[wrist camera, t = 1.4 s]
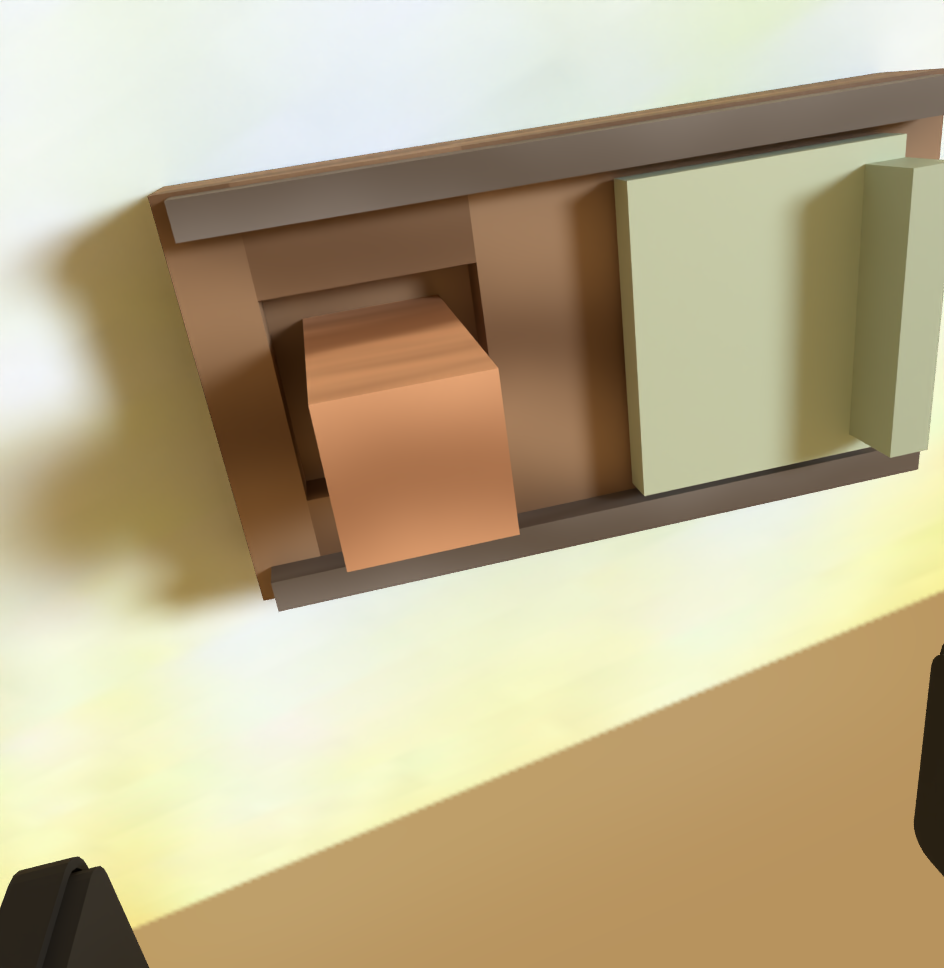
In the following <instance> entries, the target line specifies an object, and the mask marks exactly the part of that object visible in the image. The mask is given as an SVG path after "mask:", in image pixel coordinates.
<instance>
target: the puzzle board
mask: <svg viewBox="0 0 944 968" xmlns="http://www.w3.org/2000/svg"><path fill="white" fill-rule="evenodd" d="M943 115H944V68H942V69H928V70H913V71H898V72H883V73H875V74H869V75H863V76H856V77H850V78H844V79H838V80H831V81H825V82H819V83H812V84H806V85H800V86H794V87H787V88H781V89H775V90H768V91H762V92H756V93H750V94H743V95H737V96H731V97H724V98H718V99H712V100H706V101H699V102H693V103H687V104H680V105H674V106H668V107H662V108H655V109H649V110H643V111H636V112H630V113H624V114H618V115H611V116H605V117H599V118H592V119H586V120H580V121H574V122H567V123H561V124H555V125H548V126H542V127H536V128H530V129H523V130H517V131H511V132H504V133H498V134H492V135H486V136H479V137H473V138H467V139H460V140H454V141H448V142H442V143H435V144H429V145H423V146H416V147H410V148H404V149H398V150H391V151H385V152H379V153H372V154H366V155H360V156H354V157H347V158H341V159H335V160H328V161H322V162H316V163H310V164H303V165H297V166H291V167H284V168H278V169H272V170H266V171H259V172H253V173H247V174H240V175H234V176H228V177H222V178H215V179H209V180H203V181H196V182H190V183H184V184H178V185H171V186H165V187H162V188H161V189H159V190H157V191H156V192H154V193H152V194H151V195H149V196H148V199H149V203H150V206H151V210H152V213H153V216H154V220H155V223H156V227H157V230H158V234H159V237H160V241H161V244H162V248H163V251H164V255H165V258H166V262H167V265H168V269H169V272H170V276H171V279H172V283H173V286H174V290H175V293H176V297H177V300H178V304H179V307H180V311H181V314H182V318H183V321H184V325H185V328H186V332H187V335H188V338H189V342H190V345H191V349H192V352H193V356H194V359H195V363H196V366H197V370H198V373H199V377H200V380H201V384H202V387H203V391H204V394H205V398H206V401H207V405H208V408H209V412H210V415H211V419H212V422H213V426H214V429H215V433H216V436H217V440H218V443H219V447H220V450H221V454H222V457H223V460H224V464H225V467H226V471H227V474H228V478H229V481H230V485H231V488H232V492H233V495H234V499H235V502H236V506H237V509H238V513H239V516H240V520H241V523H242V527H243V530H244V534H245V537H246V541H247V544H248V548H249V551H250V555H251V558H252V562H253V565H254V569H255V572H256V576H257V579H258V582H259V586H260V589H261V593H262V596H263V600H269V599H274V598H275V600H276V603H277V607H278V611H284V610H288V609H293V608H297V607H302V606H306V605H311V604H315V603H320V602H324V601H329V600H333V599H338V598H342V597H347V596H351V595H356V594H360V593H364V592H369V591H373V590H378V589H382V588H387V587H391V586H396V585H400V584H405V583H409V582H414V581H418V580H423V579H427V578H432V577H436V576H441V575H445V574H450V573H454V572H459V571H463V570H468V569H472V568H477V567H481V566H486V565H490V564H495V563H499V562H504V561H508V560H513V559H517V558H522V557H526V556H531V555H535V554H540V553H544V552H549V551H553V550H558V549H562V548H567V547H571V546H576V545H580V544H585V543H589V542H594V541H598V540H603V539H607V538H612V537H616V536H621V535H625V534H630V533H634V532H639V531H643V530H648V529H652V528H657V527H661V526H665V525H670V524H674V523H679V522H683V521H688V520H692V519H697V518H701V517H706V516H710V515H715V514H719V513H724V512H728V511H733V510H737V509H742V508H746V507H751V506H755V505H760V504H764V503H769V502H773V501H778V500H782V499H787V498H791V497H796V496H800V495H805V494H809V493H814V492H818V491H823V490H827V489H832V488H836V487H841V486H845V485H850V484H854V483H859V482H863V481H868V480H872V479H877V478H881V477H886V476H890V475H895V474H899V473H904V472H908V471H913V470H917V469H918V464H919V454H920V451H919V452H914V453H910V454H905V455H901V456H896V457H892V458H890V457H888V456H886V455H884V454H883V453H881V452H879V451H877V450H876V449H874V448H872V447H868V448H863V449H859V450H854V451H850V452H845V453H840V454H836V455H831V456H827V457H822V458H817V459H813V460H808V461H804V462H799V463H794V464H790V465H785V466H781V467H776V468H771V469H767V470H762V471H758V472H753V473H748V474H744V475H739V476H735V477H730V478H725V479H721V480H716V481H712V482H707V483H702V484H698V485H693V486H689V487H684V488H679V489H675V490H670V491H666V492H661V493H656V494H652V495H647V496H644V495H643V494H642V493H641V492H640V491H639V490H638V489H637V488H636V487H635V486H634V484H633V483H632V469H631V452H630V436H629V420H628V403H627V387H626V371H625V354H624V338H623V322H622V306H621V289H620V273H619V257H618V240H617V224H616V208H615V191H614V178H619V177H625V176H631V175H637V174H643V173H649V172H655V171H661V170H667V169H673V168H679V167H684V166H690V165H696V164H702V163H708V162H714V161H720V160H726V159H732V158H738V157H744V156H750V155H756V154H762V153H767V152H773V151H779V150H785V149H791V148H797V147H803V146H809V145H815V144H821V143H827V142H833V141H839V140H845V139H851V138H856V137H862V136H868V135H874V134H880V133H901V134H907V140H906V153H905V157H910V158H924V159H938V160H939V158H940V147H941V137H942V126H943ZM437 294H438V295H439V296H440V297H441V299H442V300H443V301H444V302H445V304H446V305H447V306H448V307H449V308H450V310H451V311H452V312H453V313H454V315H455V316H456V317H457V318H458V319H459V321H460V322H461V323H462V324H463V326H464V327H465V328H466V329H467V330H468V332H469V333H470V334H471V335H472V337H473V338H474V339H475V340H476V341H477V343H478V344H479V345H480V346H481V347H482V349H483V350H484V351H485V352H486V354H487V355H488V356H489V357H490V358H491V360H492V361H493V362H494V363H495V365H496V366H497V367H498V369H499V376H500V384H501V392H502V400H503V408H504V415H505V423H506V431H507V439H508V447H509V454H510V462H511V470H512V478H513V486H514V493H515V501H516V509H517V517H518V525H519V533H520V535H515V536H511V537H506V538H501V539H497V540H492V541H488V542H483V543H479V544H474V545H470V546H465V547H460V548H456V549H451V550H447V551H442V552H438V553H433V554H428V555H424V556H419V557H415V558H410V559H406V560H401V561H397V562H392V563H387V564H383V565H378V566H374V567H369V568H365V569H360V570H355V571H351V572H347V569H346V565H345V561H344V556H343V552H342V548H341V543H340V539H339V535H338V530H337V526H336V522H335V518H334V513H333V509H332V505H331V500H330V496H329V492H328V488H327V483H326V479H325V475H324V470H323V466H322V462H321V457H320V453H319V449H318V445H317V440H316V436H315V432H314V427H313V423H312V419H311V414H310V410H309V406H308V393H307V378H306V363H305V347H304V332H303V319H304V318H310V317H315V316H321V315H326V314H332V313H337V312H343V311H348V310H354V309H359V308H365V307H370V306H376V305H381V304H387V303H392V302H398V301H404V300H409V299H415V298H420V297H426V296H431V295H437Z"/></svg>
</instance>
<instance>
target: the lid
mask: <svg viewBox="0 0 944 968" xmlns="http://www.w3.org/2000/svg"><path fill="white" fill-rule="evenodd" d="M906 140H907V134H901V133H880V134H874V135H868V136H862V137H856V138H851V139H845V140H839V141H833V142H827V143H821V144H815V145H809V146H803V147H797V148H791V149H785V150H779V151H773V152H767V153H762V154H756V155H750V156H744V157H738V158H732V159H726V160H720V161H714V162H708V163H702V164H696V165H690V166H684V167H679V168H673V169H667V170H661V171H655V172H649V173H643V174H637V175H631V176H625V177H619V178H614V191H615V208H616V224H617V240H618V257H619V273H620V289H621V306H622V322H623V338H624V354H625V371H626V387H627V403H628V420H629V436H630V452H631V469H632V483H633V484H634V486H635V487H636V488H637V489H638V490H639V491H640V492H641V493H642V494H643V495H644V496H647V495H652V494H656V493H661V492H666V491H670V490H675V489H679V488H684V487H689V486H693V485H698V484H702V483H707V482H712V481H716V480H721V479H725V478H730V477H735V476H739V475H744V474H748V473H753V472H758V471H762V470H767V469H771V468H776V467H781V466H785V465H790V464H794V463H799V462H804V461H808V460H813V459H817V458H822V457H827V456H831V455H836V454H840V453H845V452H850V451H854V450H859V449H863V448H868V447H872V448H874V449H876V450H877V451H879V452H881V453H883V454H884V455H886V456H888V457H890V458H892V457H896V456H901V455H905V454H910V453H914V452H919V451H923V450H928V440H929V430H930V420H931V410H932V401H933V391H934V381H935V371H936V362H937V352H938V342H939V332H940V322H941V313H942V303H943V293H944V160H938V159H924V158H910V157H905V153H906Z"/></svg>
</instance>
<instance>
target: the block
mask: <svg viewBox="0 0 944 968" xmlns="http://www.w3.org/2000/svg"><path fill="white" fill-rule="evenodd" d="M303 332H304V347H305V363H306V378H307V393H308V406H309V410H310V414H311V419H312V423H313V427H314V432H315V436H316V440H317V445H318V449H319V453H320V457H321V462H322V466H323V470H324V475H325V479H326V483H327V488H328V492H329V496H330V500H331V505H332V509H333V513H334V518H335V522H336V526H337V530H338V535H339V539H340V543H341V548H342V552H343V556H344V561H345V565H346V569H347V572H351V571H355V570H360V569H365V568H369V567H374V566H378V565H383V564H387V563H392V562H397V561H401V560H406V559H410V558H415V557H419V556H424V555H428V554H433V553H438V552H442V551H447V550H451V549H456V548H460V547H465V546H470V545H474V544H479V543H483V542H488V541H492V540H497V539H501V538H506V537H511V536H515V535H520V533H519V525H518V517H517V509H516V501H515V493H514V486H513V478H512V470H511V462H510V454H509V447H508V439H507V431H506V423H505V415H504V408H503V400H502V392H501V384H500V376H499V369H498V367H497V366H496V365H495V363H494V362H493V361H492V360H491V358H490V357H489V356H488V355H487V354H486V352H485V351H484V350H483V349H482V347H481V346H480V345H479V344H478V343H477V341H476V340H475V339H474V338H473V337H472V335H471V334H470V333H469V332H468V330H467V329H466V328H465V327H464V326H463V324H462V323H461V322H460V321H459V319H458V318H457V317H456V316H455V315H454V313H453V312H452V311H451V310H450V308H449V307H448V306H447V305H446V304H445V302H444V301H443V300H442V299H441V297H440V296H439V295H438V294H437V295H431V296H426V297H420V298H415V299H409V300H404V301H398V302H392V303H387V304H381V305H376V306H370V307H365V308H359V309H354V310H348V311H343V312H337V313H332V314H326V315H321V316H315V317H310V318H304V319H303Z"/></svg>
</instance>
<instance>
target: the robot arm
mask: <svg viewBox="0 0 944 968" xmlns="http://www.w3.org/2000/svg"><path fill="white" fill-rule="evenodd" d="M914 830H915V834H916V837H917V840H918V843H919V845H920V847H921V848H922V850H923V852H924V853H925V855H926V856H927V858H928V859H929V860H930V861H931V862H932V863H933V865H934V866H935V867H936V868H937V869H938V870H939V872H940V873H941V874H942V875H943V876H944V644H943V646H942V649H941V652H940V655H938V656H936V657H935V658H934V659H933V662H932V665H931V673H930V683H929V692H928V700H927V709H926V718H925V727H924V737H923V745H922V754H921V763H920V772H919V781H918V790H917V799H916V808H915V816H914ZM0 968H149V966H148V964H147V962H146V960H145V957H144V955H143V953H142V951H141V949H140V946H139V944H138V942H137V940H136V937H135V935H134V933H133V931H132V928H131V926H130V924H129V922H128V919H127V917H126V915H125V913H124V911H123V908H122V906H121V904H120V902H119V899H118V897H117V895H116V893H115V890H114V888H113V886H112V884H111V882H110V879H109V877H108V875H107V873H106V871H105V870H104V868H102V867H101V866H98V867H94V868H90V869H89V868H88V866H87V865H86V863H85V862H84V860H83V859H81V858H80V857H72V858H68V859H64V860H60V861H56V862H52V863H48V864H44V865H40V866H36V867H32V868H28V869H24V870H20V871H18V872H17V873H16V874H15V875H14V876H13V878H12V880H11V882H10V884H9V886H8V888H7V891H6V894H5V897H4V899H3V902H2V905H1V907H0Z"/></svg>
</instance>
